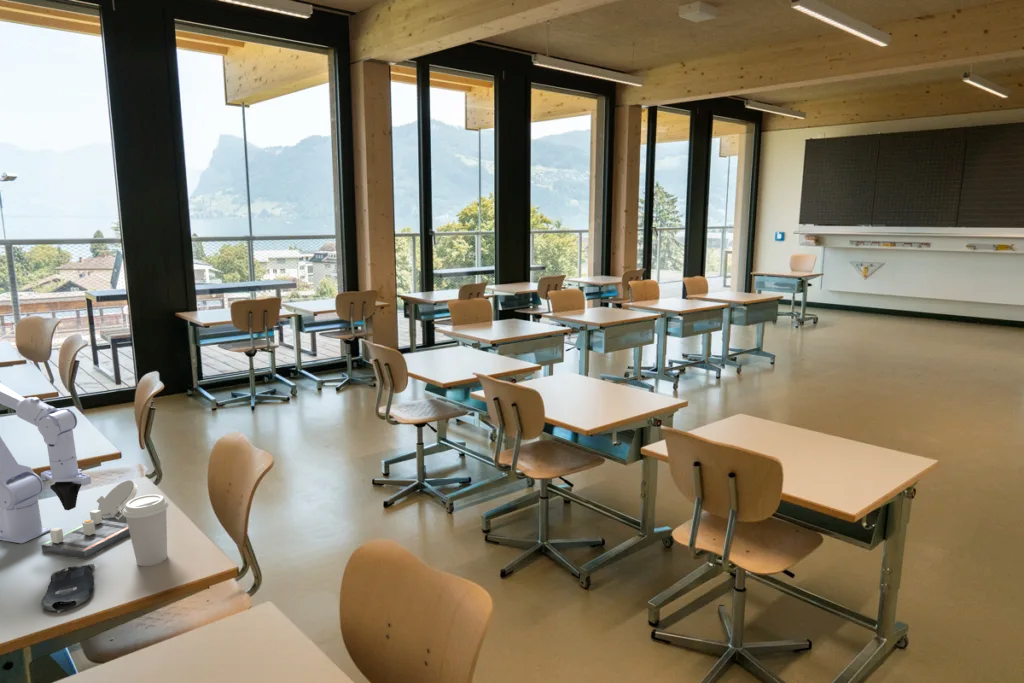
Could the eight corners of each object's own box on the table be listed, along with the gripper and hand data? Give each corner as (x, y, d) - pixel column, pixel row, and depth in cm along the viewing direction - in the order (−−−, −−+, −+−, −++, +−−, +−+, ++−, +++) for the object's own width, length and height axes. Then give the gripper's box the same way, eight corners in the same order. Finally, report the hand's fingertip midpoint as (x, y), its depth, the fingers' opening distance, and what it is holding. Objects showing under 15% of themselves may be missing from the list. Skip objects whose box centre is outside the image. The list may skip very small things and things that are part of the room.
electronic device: (47, 592, 151) (38, 616, 138) (48, 567, 151) (39, 589, 138) (95, 586, 156) (91, 609, 143) (96, 562, 156) (92, 582, 143)
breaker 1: (51, 542, 167) (49, 530, 166) (57, 539, 168) (56, 527, 168) (57, 543, 166) (55, 531, 165) (63, 540, 168) (61, 528, 167)
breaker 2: (91, 523, 177) (89, 511, 176) (96, 520, 178) (95, 509, 178) (97, 524, 176) (95, 512, 176) (102, 521, 178) (100, 510, 177)
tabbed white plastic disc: (89, 509, 190) (108, 471, 192) (117, 515, 195) (135, 478, 198) (106, 524, 179) (126, 484, 182) (135, 530, 185) (154, 491, 188)
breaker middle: (83, 534, 171) (82, 521, 170) (89, 531, 172) (87, 518, 171) (89, 535, 170) (88, 522, 169) (95, 532, 171) (93, 519, 171)
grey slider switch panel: (42, 551, 167) (41, 544, 166) (96, 525, 181) (95, 518, 180) (85, 559, 162) (83, 551, 162) (136, 532, 176) (135, 524, 176)
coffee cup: (126, 573, 155) (118, 512, 153) (132, 554, 164) (124, 497, 162) (172, 564, 159) (165, 505, 156) (175, 547, 168) (169, 490, 165)
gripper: (98, 455, 171) (105, 505, 173) (56, 450, 175) (63, 499, 178) (73, 464, 164) (80, 516, 167) (29, 459, 169) (37, 510, 171)
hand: (70, 508), depth 172 cm, fingers closed
